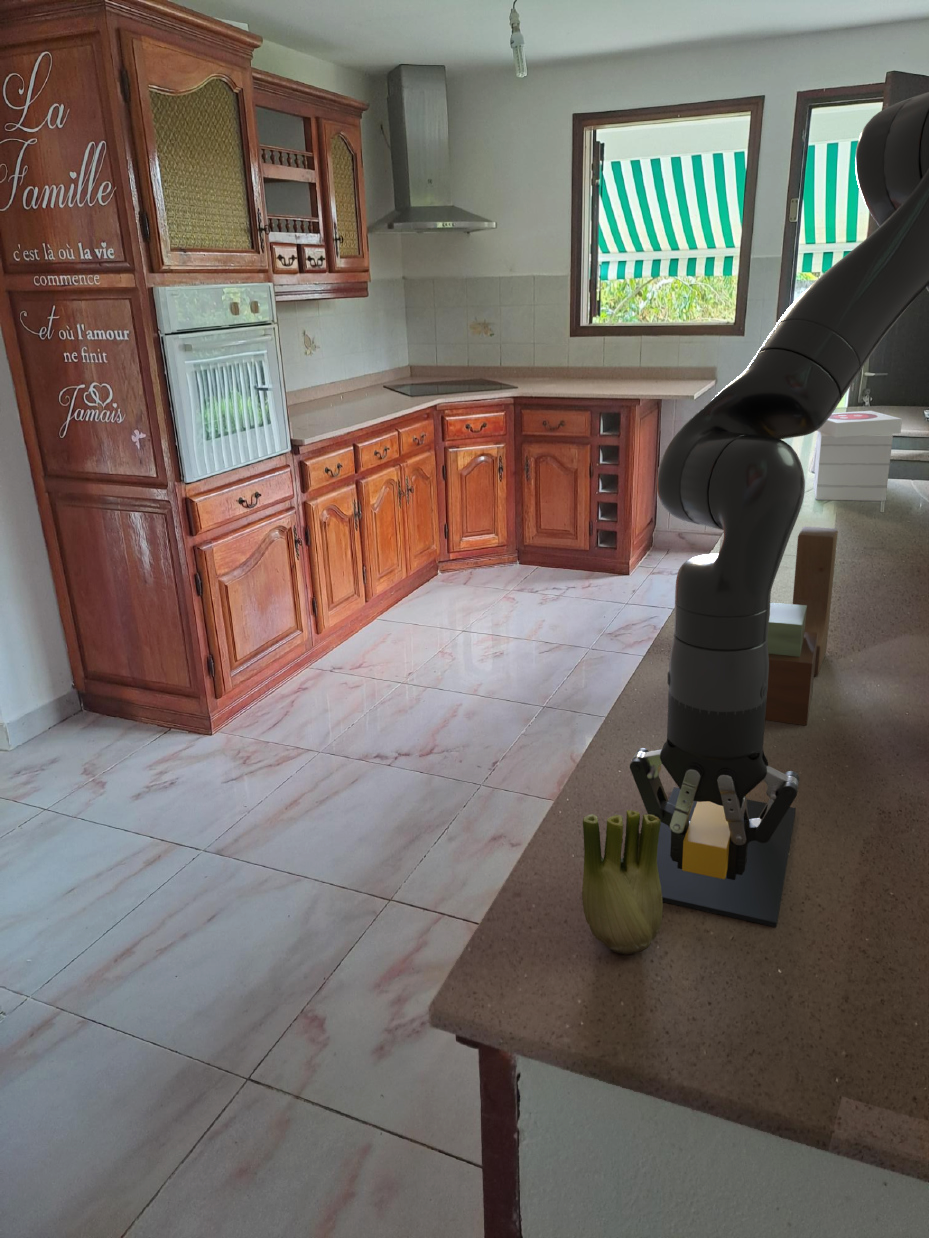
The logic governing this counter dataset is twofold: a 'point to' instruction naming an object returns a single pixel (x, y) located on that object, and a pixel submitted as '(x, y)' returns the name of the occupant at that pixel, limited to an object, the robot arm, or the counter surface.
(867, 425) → the pizza boxes
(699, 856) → the bar
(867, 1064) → the counter surface
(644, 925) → the fennel bulb
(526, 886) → the counter surface
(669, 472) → the robot arm
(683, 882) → the mat
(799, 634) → the green-topped brown box
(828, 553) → the wooden block
